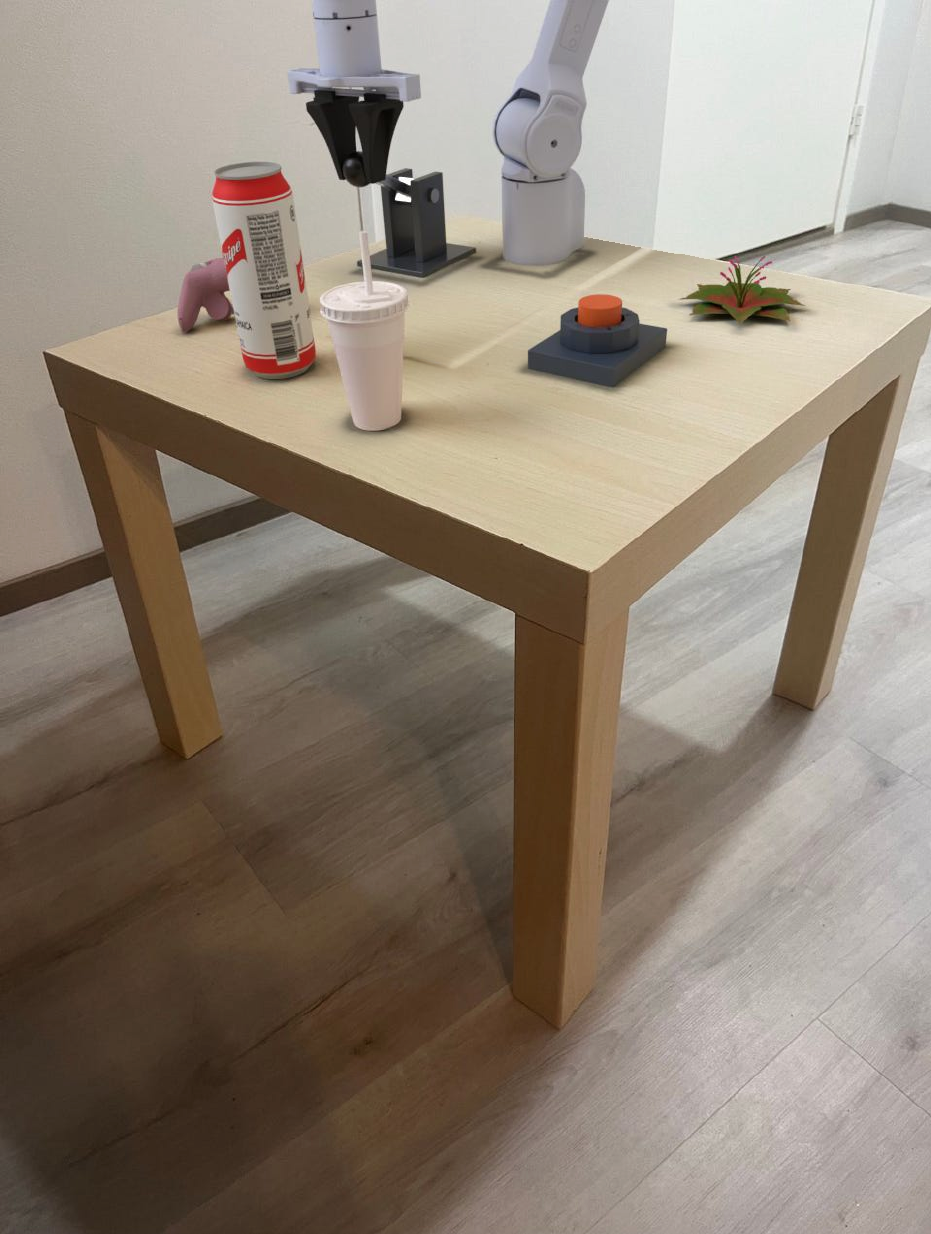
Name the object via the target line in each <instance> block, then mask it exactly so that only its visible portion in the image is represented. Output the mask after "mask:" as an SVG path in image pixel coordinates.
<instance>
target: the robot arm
mask: <svg viewBox="0 0 931 1234" xmlns="http://www.w3.org/2000/svg"><path fill="white" fill-rule="evenodd" d="M609 1H610V0H549V3H548V7H547V8H546V9H547V10H546V13H545V16H544V18H543V19H544V20H543V23H542V26H541V28H540V31H539V35H538V39H537V40H536V41H537V42H536V44H535V48H534V51H533V54H532V57H531V59H530V61H529V62H528V64H527V65H526V66H525V67H524V68H523V69H522V70H521V72H520V73H519V74H518V76H517V77H516V79H515V81H514V84H513V87H512V89H511V92H510V94H509V96H508V97H507V99H505V101H504V102H503V103H502V105H501V106H500V107H499V109H497V112H496V113H495V116H494V119H493V123H492V139H493V143H494V145H495V148H496V149H497V151H498V153H499V154H501V156H502V157H503V163H502V167H501V171H500V172H501V173H500V174H501V227H502V228H501V230H502V231H501V232H502V258H503V260H505V261H506V262H507V263H511V264H514V265H519V266H530V267H531V266H547V265H553V264H557V263H560V262H563V261H565V260H566V259H568V258H569V256H570V255H571V254H572V253H574V252H576V251H577V250H579V249H582V248H583V247H584V246H585V245H584V243H585V216H586V215H585V214H586V213H585V212H586V189H585V185H584V183H583V180H582V177H581V176H580V175H579V173H578V172H577V171H576V170H575V169H573V168H572V167H573V166H574V164H575V163H576V161H577V159H578V157H579V155H580V152H581V148H582V141H583V137H582V135H583V134H582V124H583V123H582V122H583V118H584V114H585V111H586V109H587V105H588V104H587V103H588V102H587V97H586V93H585V88H584V83H583V82H584V81H583V77H584V74H585V71H586V69H587V66H588V64H589V63H588V62H589V60H590V57H591V55H592V51H593V48H594V46H595V43H596V39H597V37H598V34H599V31H600V28H601V25H602V23H603V19H604V17H605V14H606V10H607V7H608V4H609ZM311 8H312V9H311V11H312V16H313V24H314V32H315V40H316V41H315V42H316V48H317V58H318V65H319V68H308V67H307V68H305V67H304V68H303V67H300V68H296V69H291V70H287V71H286V73H287V80H288V88H289V93H290V94H292V95H301V94H313V95H314V96H313V98H312V99H313V100H309V101H307V102H305V109H306V112H307V113H308V114H309V117H310V118H311V119H312V120H313V122H314V124H315V125H316V127H317V129H318V130H319V132H320V134H321V136H322V139H323V140H324V142H325V144H326V147H327V149H328V152H329V155H330V158H331V160H332V164H333V166H334V169H335V171H336V174H337V177H338V180H339V181H347V180H346V179H345V177H344V174H343V163H344V160H345V159H346V157H347V156H348V155H349V154H350V153H352V152H355V151H358V149H357V139H356V137H357V136H356V135H357V134H358V139H359V143H360V147H361V152H362V155H363V163H364V170H365V175H366V179H367V182H368V183H370V184H369V185H375V184H376V183H377V182H380V181H383V180H385V179H386V175H387V170H388V164H389V163H388V162H389V156H390V150H391V146H392V145H391V144H392V141H393V136H394V133H395V129H396V127H397V124H398V121H399V119H400V116H401V113H402V112H403V110H404V107H405V105H404V102H408V103H409V102H412V101H415V100H419V99H421V98H422V89H421V78H420V73H408V72H401V71H396V70H388V69H383V68H382V55H381V45H380V34H379V33H380V31H379V20H378V10H377V0H311ZM356 88H357V89H356ZM360 88H362V89H360ZM360 98H363V100H360Z"/></svg>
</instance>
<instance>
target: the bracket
mask: <svg viewBox="0 0 931 1234" xmlns="http://www.w3.org/2000/svg"><path fill="white" fill-rule="evenodd" d="M386 175H389V176H391V177H393V178H395V179H399V177H408V178H414V172H413V169H412V168H406V167H405V168H402V169H398V170H395V171H393V172H390V173H386ZM410 185H411V199H412V207H409V206H407V205H404V204H402V203H400V202H397V201H395V197H396V192H394V191H392V190H390V189H387V188H385V187H383V186H380V194H381V204H382V213H383V214H382V217H383V224H384V225H383V227H384V236H385V237H384V238H385V239H384V240H385V247H386V248H384V249H382V250H379V251H377V252H375V253H373V254H371V255H370V254H369V255H370V265H371V270H376V271H381V272H387V273H391V274H392V273H393V274H398V275H403V276H410V277H415V278H420V279H424V278H426V277H428V276H430V275H432V274H435V273H436V272H438V271H440V270H443V269H446V268H447V267H449V266H452V265H454V264H455V263H458V262H459V261H462V260H464V259H466V258H468V257H470V256H472V255H475V254H476V253H477V248H476V247H474V246H469V245H468V246H467V245H462V244H455V243H449V242H447V230H446V228H447V227H446V212H445V211H446V210H445V193H444V191H445V190H444V173H443V172H442V171H433V172H431V173H428V174H425V175H422V176H419V177H415V179H413V180H410ZM356 266H357V267H360V268H363V264H362V258H360V259H358V260H357V261H356Z"/></svg>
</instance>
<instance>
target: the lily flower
mask: <svg viewBox="0 0 931 1234" xmlns="http://www.w3.org/2000/svg"><path fill="white" fill-rule="evenodd" d="M764 259H766V255H764V256H763V257H761V258H760V259H759V261H758V262H757V263H756V264H755V266H754V267H753V268H752V269H751V270H750V272H749V274H748V275H747V277H746V280H744V283H743V282H742V272H741V266H740V263H739V259H738V258H737V256H736V255H734V260H735V261H736V262H734V261H733V260H732V259H728V261H729V263H730V264H731V265H732V266H733V268H734V271H735V276H736V277H735V276H734V272H733V270H732V268H731V267H730V266H728V267H727V269H728V271H729V273H730V274H731V276H732V278H733V281H732V280H731V278H730V277H728V276H727V275H726V273H724V272H723V271H720V272H719V274H720V276H721V277H722V278H725V279H726V281H727V283H726V284H725V285H723V284H700V283H696V285H697V287H698V290H696V291H694V292H692V293H690V294H688V295H687V296H686V297H681V298H678V299H677V300H681V301H682V300H698V301H703V302H700V303H697V304H696V305H694V307H693V309H692V310H691V311H692V312H691V313H690V314H689V316H697V315H710V314H711V315H712V314H719V315H721V314H722V315H723V314H724V315H725V314H726V315H727V314H730V315H731V316H732V317H733V318H734V319H735V320H736V321H737V324H739V325H741V324H742V323H743V322H745V321H746V320H748V317H750V316H757V317H767V318H773V319H777V320H784V321H787V322H791V319H790V316H789V315H788V314H789V312H788V310H787V309H786V308H783V307H781V306H778V305H784V304H786V305H793V306H800V307H806V305H805V304H803V303H801V302H800V301H798V300H796V299H794V297H792V296H790V295H789V292H790V291H791V290H792V288H780V287H779V288H777V287H772V286H771V287H770V286H769V287H768V286H767V287H762V285H761V284H760V281H764V280H766V279H767V276H766V275H765V276H762V277H759V279H757V280H755V281H754V282H753V280H754V279H755V278H757V277H758V276H759V275H761V270H763V269H765V266H769V265H773V261H772V260H771V261H767V262H766V263H765V264H763V265H762V266H759V267H758V268H757V269H756V267H757V266H758V264H759V263H760V262H762V261H763V260H764ZM755 269H756V270H755ZM735 278H736V279H735ZM736 281H737V282H736Z"/></svg>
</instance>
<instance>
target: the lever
mask: <svg viewBox="0 0 931 1234" xmlns="http://www.w3.org/2000/svg"><path fill="white" fill-rule="evenodd" d="M343 174H344V177H345V179H346V180H345V181H346V182H348V184H349V185H351V186H352V187H355V188H365V187H367V186H369V185H371V184H370V183H368V182H367V179H366V175H365V170H364V163H363V155H362V150H357V151H355V152H352V153H350V154H349V155H348V156H347V157H346V159H345V160H344V163H343ZM413 179H416V177H413V178H408V177H399V179H395V178H393V177H391V176H389V175H387V174H386V179H385V180H383V181H380V182H377V183H375V184H376V185H378V186H380V187H381V186H383V187H385V188H387V189H390V190H392V191H394V192H396V197H395V201H397V202H400V203H402V204H404V205H407V206H409V207H412V199H411V185H410V180H413Z"/></svg>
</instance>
